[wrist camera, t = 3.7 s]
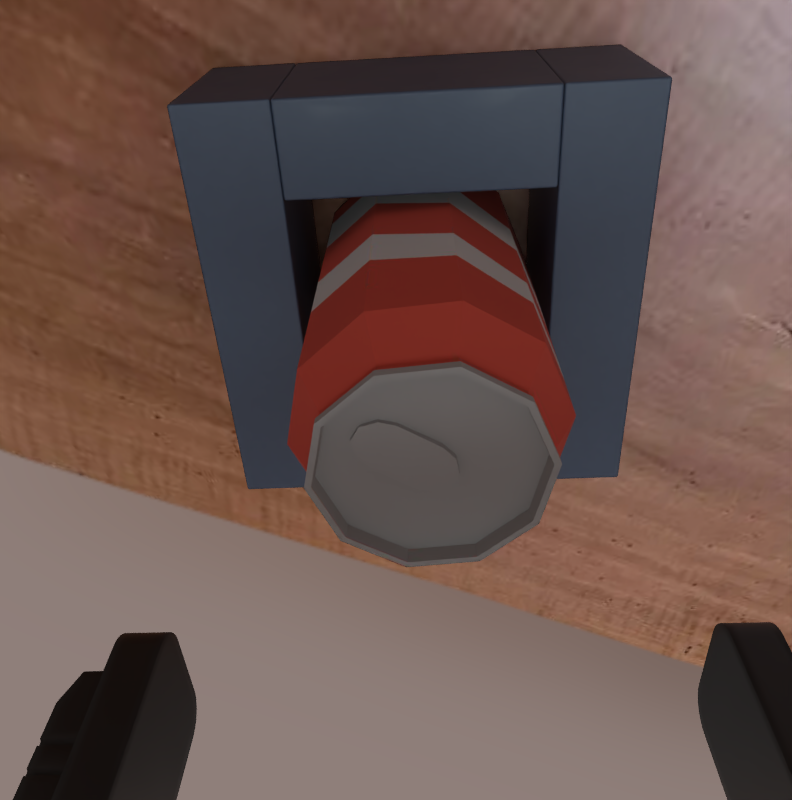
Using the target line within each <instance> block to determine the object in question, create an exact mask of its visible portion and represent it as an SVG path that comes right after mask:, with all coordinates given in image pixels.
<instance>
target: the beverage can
mask: <svg viewBox="0 0 792 800" xmlns="http://www.w3.org/2000/svg"><path fill="white" fill-rule="evenodd" d="M575 417H576V414H575V411H574V408H573V405H572V402H571V399H570V396H569V393H568V390H567V387H566V384H565V381H564V378H563V374H562V371H561V368H560V365H559V362H558V359H557V356H556V353H555V350H554V347H553V344H552V341H551V338H550V335H549V332H548V329H547V326H546V323H545V320H544V317H543V314H542V311H541V308H540V305H539V302H538V299H537V296H536V293H535V290H534V287H533V284H532V281H531V278H530V275H529V272H528V269H527V266H526V263H525V260H524V257H523V254H522V251H521V248H520V245H519V242H518V240H517V238H516V235H515V233H514V230H513V228H512V225H511V223H510V220H509V218H508V215H507V213H506V210H505V208H504V205H503V203H502V200H501V198H500V196H499V193H498V192H497V191H495V190H493V191H473V192H452V193H432V194H412V195H392V196H372V197H351V198H350V199H349V200H348V201H347V202H346V203H344V204H343V205H342V206H341V207H340V208H339V209H338V210H337V211H336V212H335V215H334V219H333V223H332V227H331V231H330V236H329V240H328V244H327V248H326V252H325V256H324V260H323V264H322V269H321V273H320V277H319V281H318V285H317V289H316V293H315V297H314V302H313V306H312V310H311V314H310V318H309V322H308V326H307V330H306V335H305V339H304V343H303V347H302V351H301V355H300V359H299V363H298V368H297V373H296V381H295V389H294V396H293V404H292V411H291V419H290V426H289V434H288V441H287V444H288V446H289V447H290V449H291V450H292V452H293V453H294V455H295V456H296V458H297V459H298V461H299V462H300V463H301V465H302V466H303V468H304V469H305V471H306V478H305V484H304V489H305V490H306V492H307V493H308V495H309V496H310V498H311V499H312V500H313V502H314V503H315V505H316V506H317V508H318V509H319V510H320V512H321V513H322V515H323V516H324V518H325V519H326V521H327V522H328V523H329V525H330V526H331V528H332V529H333V531H334V532H335V533H336V535H337V536H338V538H339V539H340V541H342V542H345V543H347V544H350V545H352V546H355V547H357V548H360V549H362V550H365V551H367V552H370V553H372V554H375V555H377V556H380V557H382V558H385V559H387V560H390V561H392V562H395V563H397V564H400V565H402V566H405V567H414V566H427V565H439V564H451V563H463V562H475V561H481V560H482V559H484V558H485V557H487V556H489V555H490V554H492V553H493V552H495V551H497V550H498V549H500V548H501V547H503V546H504V545H506V544H508V543H509V542H511V541H512V540H514V539H515V538H517V537H519V536H520V535H522V534H523V533H525V532H527V531H528V530H530V529H531V528H533V527H534V526H536V525H538V524H539V522H540V519H541V517H542V514H543V512H544V509H545V507H546V504H547V502H548V499H549V497H550V494H551V491H552V489H553V486H554V484H555V481H556V479H557V476H558V474H559V471H560V469H561V466H562V462H561V459H560V456H561V454H562V451H563V448H564V446H565V443H566V441H567V438H568V435H569V433H570V430H571V428H572V425H573V423H574V420H575Z"/></svg>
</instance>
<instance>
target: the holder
mask: <svg viewBox="0 0 792 800" xmlns="http://www.w3.org/2000/svg"><path fill="white" fill-rule="evenodd" d="M671 83H672V77H671V76H669V75H667V74H666V73H664V72H663V71H661V70H660V69H658V68H657V67H655V66H653V65H652V64H650V63H649V62H647V61H646V60H644V59H643V58H641V57H639V56H638V55H636V54H635V53H633V52H632V51H630V50H629V49H627V48H625V47H624V46H622V45H607V46H590V47H572V48H555V49H538V50H536V51H535V50H521V51H504V52H487V53H469V54H452V55H434V56H417V57H399V58H382V59H364V60H347V61H330V62H312V63H298V64H296V65H295V64H294V63H292V64H275V65H258V66H240V67H223V68H213V69H211V70H210V71H209V72H208V73H206V74H205V75H204V76H203V77H201V78H200V79H199V80H198V81H197V82H195V83H194V84H193V85H192V86H190V87H189V88H188V89H187V90H185V91H184V92H183V93H182V94H181V95H179V96H178V97H177V98H176V99H174V100H173V101H172V102H171V103H169V104H168V105H167V108H168V113H169V117H170V122H171V127H172V132H173V136H174V141H175V146H176V150H177V155H178V160H179V165H180V169H181V174H182V179H183V184H184V188H185V193H186V198H187V202H188V207H189V212H190V217H191V221H192V226H193V231H194V236H195V240H196V245H197V250H198V254H199V259H200V264H201V269H202V273H203V278H204V283H205V288H206V292H207V297H208V302H209V306H210V311H211V316H212V321H213V325H214V330H215V335H216V340H217V344H218V349H219V354H220V358H221V363H222V368H223V373H224V377H225V382H226V387H227V392H228V396H229V401H230V406H231V410H232V415H233V420H234V425H235V429H236V434H237V439H238V444H239V448H240V453H241V458H242V462H243V467H244V472H245V477H246V481H247V486H248V489H264V488H295V487H304V484H305V478H306V471H305V469H304V468H303V466H302V465H301V463H300V462H299V461H298V459H297V458H296V456H295V455H294V453H293V452H292V450H291V449H290V447H289V446H288V444H287V441H288V434H289V426H290V419H291V411H292V404H293V396H294V389H295V381H296V373H297V368H298V363H299V359H300V355H301V351H302V347H303V343H304V339H305V335H306V330H307V326H308V322H309V318H310V314H311V310H312V306H313V302H314V297H315V293H316V289H317V285H318V281H319V277H320V264H319V256H318V247H317V239H316V230H315V222H314V213H313V205H312V199H331V198H351V197H372V196H392V195H412V194H432V193H452V192H473V191H493V190H513V189H530V191H529V214H528V237H527V261H526V266H527V269H528V272H529V275H530V278H531V281H532V284H533V287H534V290H535V293H536V296H537V299H538V302H539V305H540V308H541V311H542V314H543V317H544V320H545V323H546V326H547V329H548V332H549V335H550V338H551V341H552V344H553V347H554V350H555V353H556V356H557V359H558V362H559V365H560V368H561V371H562V374H563V378H564V381H565V384H566V387H567V390H568V393H569V396H570V399H571V402H572V405H573V408H574V411H575V414H576V417H575V420H574V423H573V425H572V428H571V430H570V433H569V435H568V438H567V441H566V443H565V446H564V448H563V451H562V454H561V456H560V459H561V462H562V466H561V469H560V471H559V474H558V476H557V479H565V478H595V477H617V476H618V470H619V463H620V455H621V448H622V441H623V433H624V426H625V419H626V412H627V404H628V397H629V390H630V382H631V375H632V368H633V361H634V353H635V346H636V339H637V331H638V324H639V317H640V309H641V302H642V295H643V288H644V280H645V273H646V266H647V258H648V251H649V244H650V237H651V229H652V222H653V215H654V207H655V200H656V193H657V186H658V178H659V171H660V164H661V156H662V149H663V142H664V134H665V127H666V120H667V113H668V105H669V98H670V91H671Z"/></svg>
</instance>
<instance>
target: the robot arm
mask: <svg viewBox="0 0 792 800" xmlns="http://www.w3.org/2000/svg"><path fill="white" fill-rule="evenodd" d="M698 706H699V714H700V719H701V724H702V728H703V731H704V734H705V737H706V740H707V743H708V745H709V748H710V751H711V754H712V757H713V760H714V763H715V765H716V768H717V771H718V774H719V777H720V780H721V783H722V785H723V788H724V791H725V794H726V797H727V800H792V652H791V650H790V648H789V646H788V644H787V642H786V640H785V638H784V636H783V634H782V632H781V631H780V629H779V628H778V627H777V626H776V625H775V624H773V623H770V622H760V623H719V624H717V625H716V626H715V628H714V631H713V634H712V638H711V642H710V646H709V649H708V653H707V657H706V661H705V664H704V668H703V672H702V676H701V679H700V683H699V688H698ZM196 709H197V708H196V696H195V691H194V688H193V685H192V682H191V679H190V676H189V673H188V670H187V667H186V664H185V660H184V657H183V655H182V652H181V648H180V645H179V642H178V639H177V637H176V635H175V634H174V633H172V632H166V633H165V632H163V633H124V634H122V635H120V637H119V638H118V639H117V641H116V642H115V644H114V647H113V649H112V651H111V654H110V656H109V659H108V661H107V664H106V666H105V669H104V671H93V672H83V673H82V674H81V676H80V677H79V678H78V679H77V680H76V681H75V682H74V684H73V685H72V686H71V687H70V688H69V689H68V690H67V692H66V693H65V694H64V695H63V696H62V697H61V698H60V699H59V701H58V702H57V703H56V705H55V707H54V709H53V712H52V714H51V716H50V718H49V721H48V723H47V725H46V727H45V729H44V732H43V734H42V736H41V738H40V740H41V743H40V745H39V746H37V747H36V749H35V752H34V754H33V756H32V758H31V760H30V763H29V765H28V767H27V774H26V776H24V777H23V778H22V780H21V783H20V785H19V787H18V789H17V792H16V794H15V796H14V798H13V800H176V799H177V795H178V792H179V788H180V784H181V780H182V777H183V773H184V769H185V765H186V762H187V758H188V754H189V750H190V747H191V743H192V739H193V735H194V730H195V724H196Z"/></svg>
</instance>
